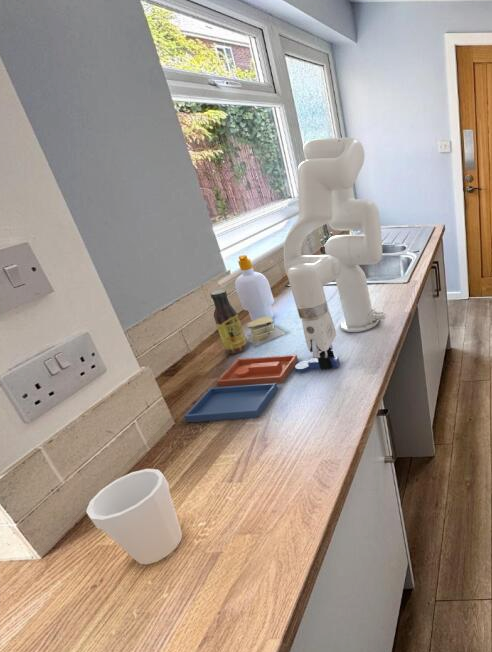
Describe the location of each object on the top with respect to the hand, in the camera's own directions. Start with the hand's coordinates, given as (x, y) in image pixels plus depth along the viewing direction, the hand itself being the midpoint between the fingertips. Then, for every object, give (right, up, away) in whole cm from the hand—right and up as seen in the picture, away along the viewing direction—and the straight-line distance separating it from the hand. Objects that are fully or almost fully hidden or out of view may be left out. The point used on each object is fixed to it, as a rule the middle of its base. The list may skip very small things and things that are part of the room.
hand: (328, 365), depth 117 cm
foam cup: (-9, -24, -48) cm, 54 cm away
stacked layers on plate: (-29, +7, +19) cm, 36 cm away
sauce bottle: (-34, +3, +12) cm, 36 cm away
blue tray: (-18, -8, -14) cm, 24 cm away
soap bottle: (-37, +12, +32) cm, 50 cm away
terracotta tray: (-19, -2, -1) cm, 19 cm away
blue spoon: (-3, -1, 0) cm, 3 cm away
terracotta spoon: (-19, -2, -2) cm, 19 cm away
